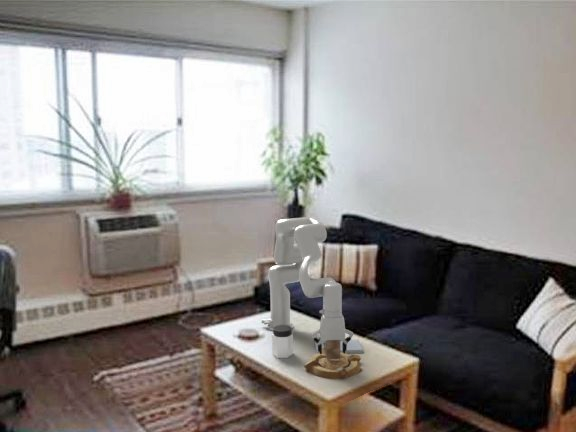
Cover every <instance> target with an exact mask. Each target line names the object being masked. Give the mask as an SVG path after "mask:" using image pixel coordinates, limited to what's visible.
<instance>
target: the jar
mask: <svg viewBox="0 0 576 432" xmlns="http://www.w3.org/2000/svg"><path fill="white" fill-rule="evenodd" d="M271 342H272V345H271V349H272V355H273V356H274V357H275V358H277V359H288V358H290V356H292V355H294V334H293V328H291V327H290V326H288V325H278V326H275V327H274V328H273V331H272V334H271Z"/></svg>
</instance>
